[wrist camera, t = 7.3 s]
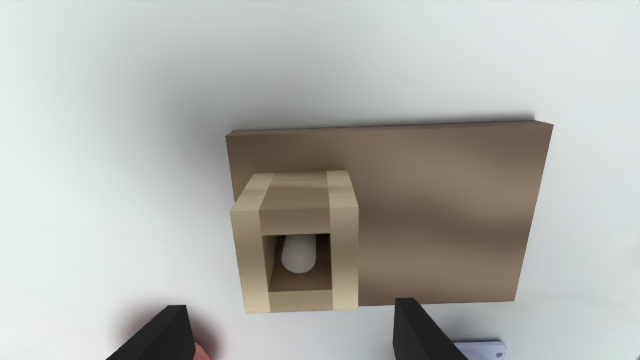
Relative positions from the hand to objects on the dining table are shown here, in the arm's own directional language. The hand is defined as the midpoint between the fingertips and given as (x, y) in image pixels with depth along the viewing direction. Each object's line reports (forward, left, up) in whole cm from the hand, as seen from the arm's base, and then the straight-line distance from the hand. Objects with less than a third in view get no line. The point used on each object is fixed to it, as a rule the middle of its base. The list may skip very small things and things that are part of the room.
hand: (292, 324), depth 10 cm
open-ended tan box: (0, 0, -8) cm, 8 cm away
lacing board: (-1, -5, -10) cm, 11 cm away
